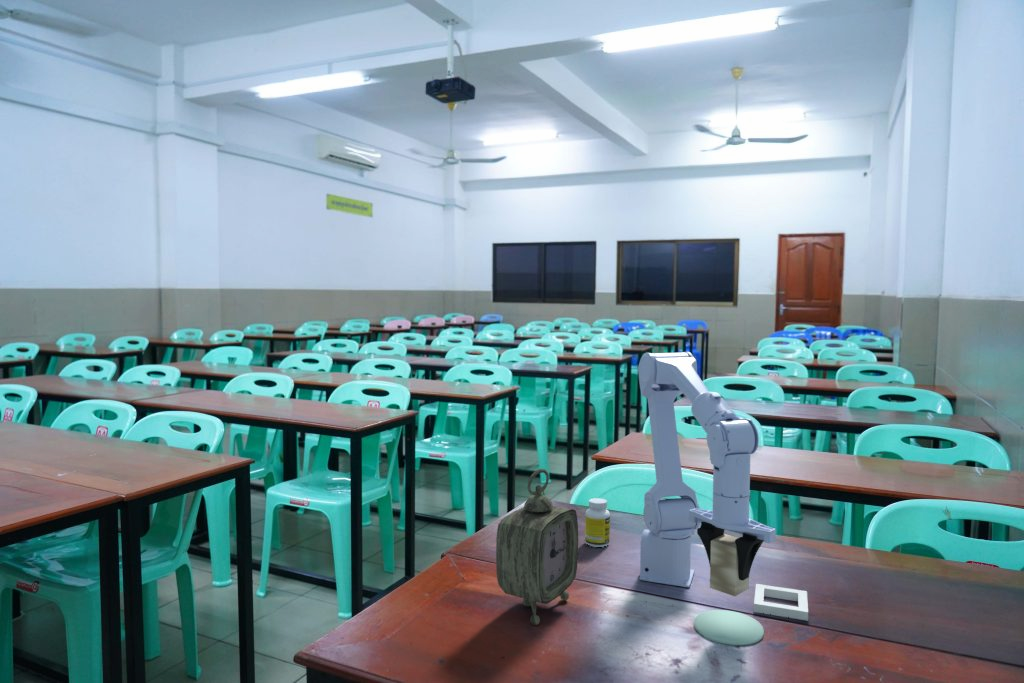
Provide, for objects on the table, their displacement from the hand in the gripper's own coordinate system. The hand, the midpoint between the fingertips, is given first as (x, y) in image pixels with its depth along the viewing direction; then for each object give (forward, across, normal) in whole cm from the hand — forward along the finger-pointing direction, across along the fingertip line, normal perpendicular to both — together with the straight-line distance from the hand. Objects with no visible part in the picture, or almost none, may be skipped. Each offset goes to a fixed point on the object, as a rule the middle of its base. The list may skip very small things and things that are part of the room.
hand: (729, 573), depth 112 cm
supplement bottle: (+10, +39, -14) cm, 43 cm away
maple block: (+2, 0, 0) cm, 3 cm away
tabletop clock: (+10, +27, +18) cm, 34 cm away
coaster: (+9, 0, 0) cm, 9 cm away
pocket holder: (+9, -2, -14) cm, 17 cm away
